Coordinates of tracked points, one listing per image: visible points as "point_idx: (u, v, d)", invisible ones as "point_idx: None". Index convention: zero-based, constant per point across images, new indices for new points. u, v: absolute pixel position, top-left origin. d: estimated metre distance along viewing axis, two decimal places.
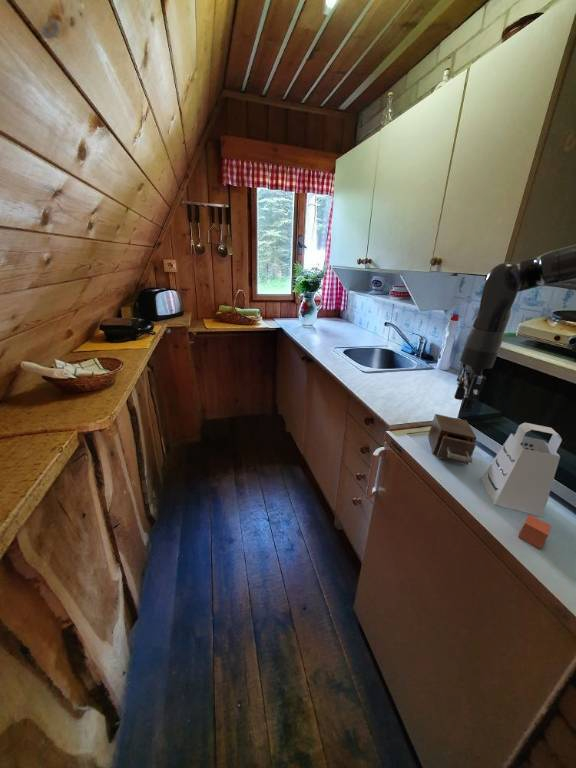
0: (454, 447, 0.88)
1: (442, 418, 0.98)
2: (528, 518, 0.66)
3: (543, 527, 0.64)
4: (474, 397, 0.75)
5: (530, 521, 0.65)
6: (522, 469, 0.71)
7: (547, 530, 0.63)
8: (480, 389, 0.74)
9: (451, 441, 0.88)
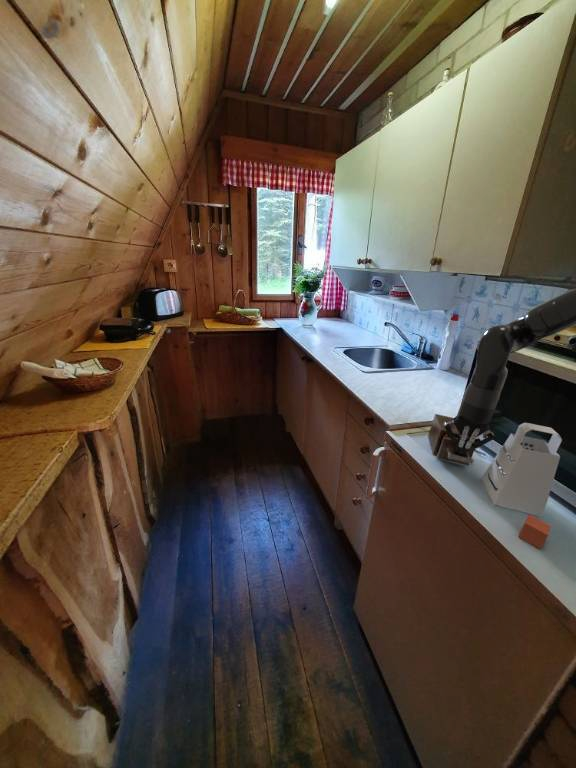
0: (454, 448, 0.88)
1: (442, 418, 0.98)
2: (528, 518, 0.66)
3: (543, 527, 0.64)
4: None
5: (530, 521, 0.65)
6: (522, 469, 0.71)
7: (547, 530, 0.63)
8: None
9: (451, 442, 0.87)
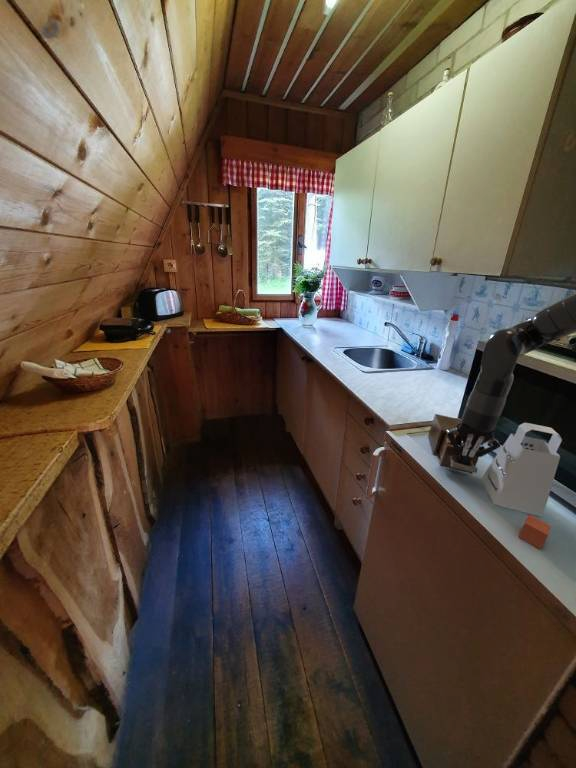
0: (457, 456, 0.84)
1: (442, 418, 0.98)
2: (528, 518, 0.66)
3: (543, 527, 0.64)
4: None
5: (530, 521, 0.65)
6: (522, 469, 0.71)
7: (547, 530, 0.63)
8: None
9: (454, 449, 0.84)
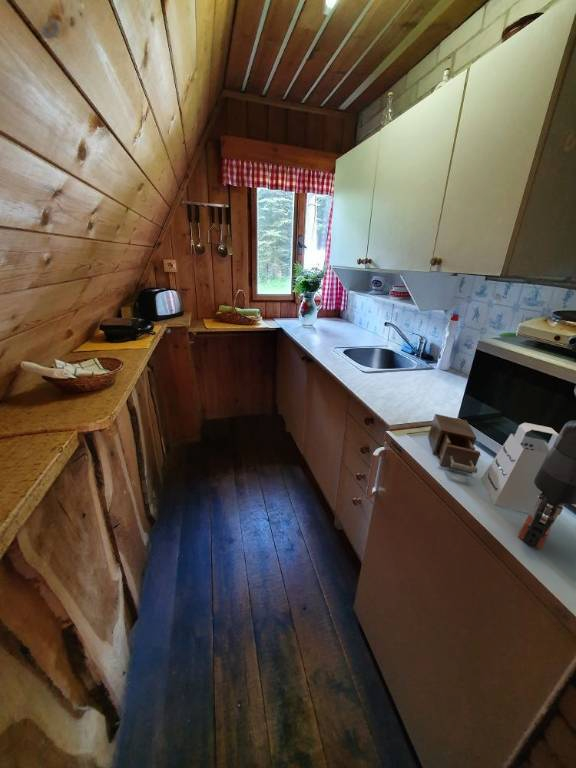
0: (457, 456, 0.84)
1: (442, 418, 0.98)
2: (528, 518, 0.66)
3: None
4: (537, 532, 0.61)
5: (530, 521, 0.65)
6: (522, 469, 0.71)
7: (547, 530, 0.63)
8: (545, 529, 0.59)
9: (454, 449, 0.84)
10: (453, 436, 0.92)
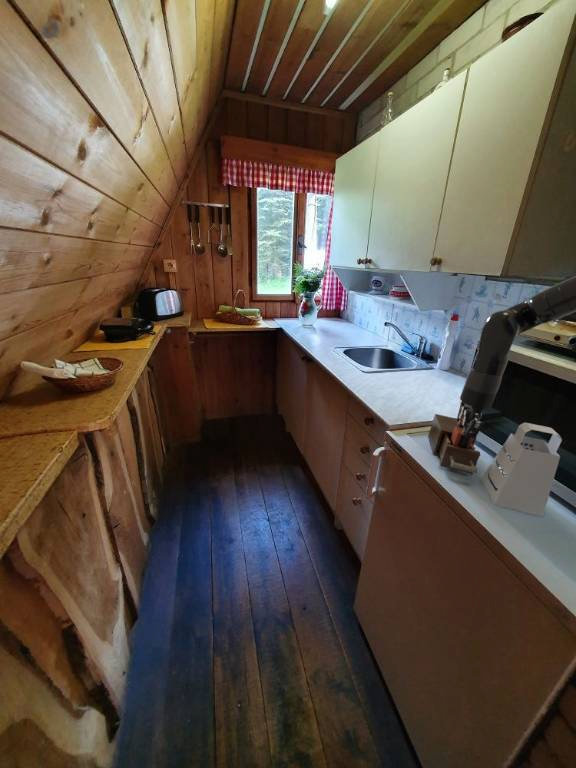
0: (457, 456, 0.84)
1: (442, 418, 0.98)
2: (457, 429, 0.86)
3: None
4: (471, 436, 0.80)
5: (459, 431, 0.85)
6: (522, 469, 0.71)
7: None
8: (477, 431, 0.79)
9: (454, 449, 0.84)
10: None
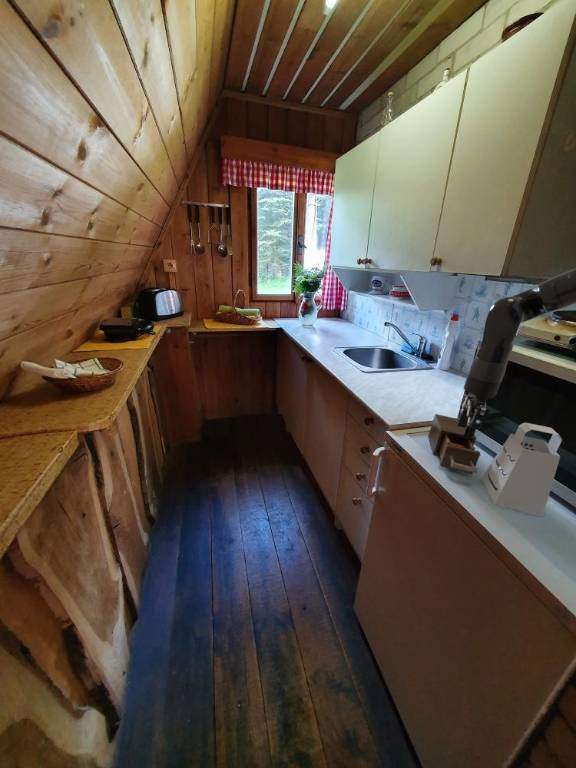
0: (457, 456, 0.84)
1: (442, 418, 0.98)
2: None
3: None
4: (477, 426, 0.78)
5: None
6: (522, 469, 0.71)
7: None
8: (483, 420, 0.76)
9: (454, 450, 0.84)
10: (453, 436, 0.92)
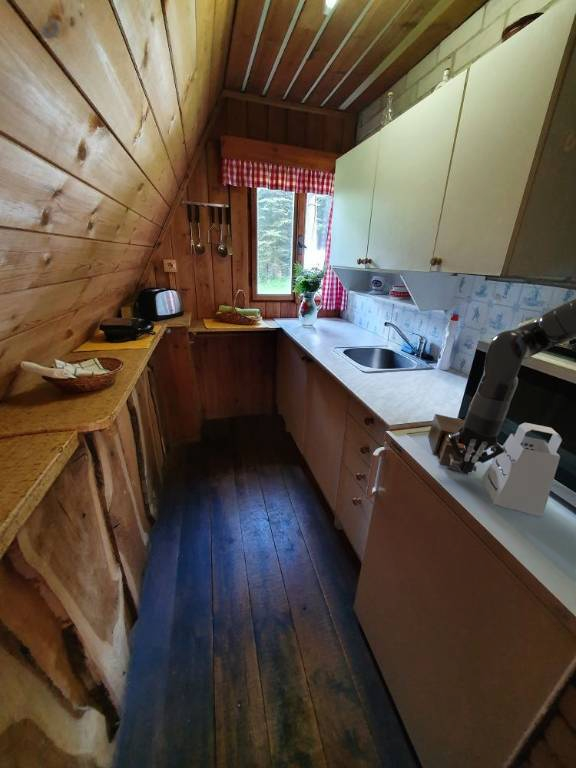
0: None
1: (442, 418, 0.98)
2: None
3: None
4: None
5: None
6: (522, 469, 0.71)
7: None
8: None
9: None
10: None
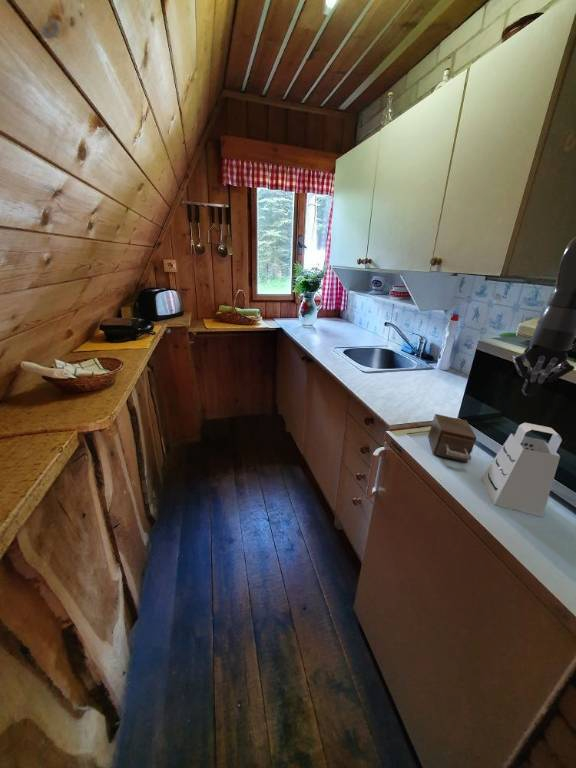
0: (453, 445, 0.90)
1: (442, 418, 0.98)
2: None
3: None
4: (521, 374, 0.76)
5: None
6: (522, 469, 0.71)
7: None
8: (519, 368, 0.75)
9: (450, 438, 0.89)
10: None
